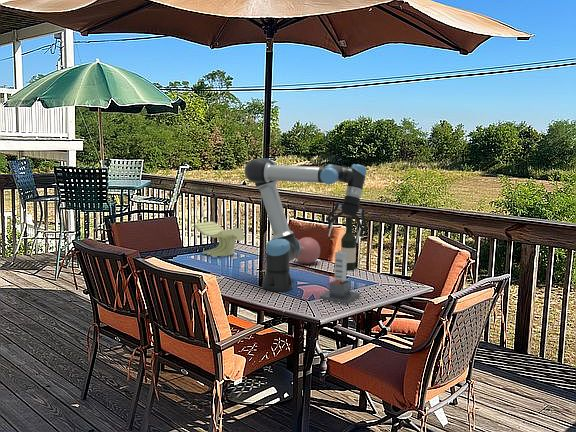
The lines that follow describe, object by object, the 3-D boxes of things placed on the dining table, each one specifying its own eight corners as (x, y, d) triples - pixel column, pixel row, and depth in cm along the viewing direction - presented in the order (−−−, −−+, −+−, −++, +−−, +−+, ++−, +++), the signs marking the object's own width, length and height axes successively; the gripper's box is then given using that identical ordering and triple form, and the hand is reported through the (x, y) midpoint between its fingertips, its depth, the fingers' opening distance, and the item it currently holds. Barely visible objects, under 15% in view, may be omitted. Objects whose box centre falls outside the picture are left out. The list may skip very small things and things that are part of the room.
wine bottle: (354, 270, 324) (356, 217, 320) (339, 269, 326) (341, 216, 321) (356, 267, 333) (357, 215, 328) (341, 266, 334) (342, 214, 329)
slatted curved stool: (243, 256, 356) (243, 227, 353) (221, 260, 346) (221, 230, 343) (216, 248, 379) (216, 221, 376) (195, 251, 369) (194, 223, 366)
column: (338, 292, 275) (339, 251, 272) (345, 294, 273) (346, 252, 270) (333, 295, 271) (334, 252, 268) (341, 296, 269) (342, 253, 266)
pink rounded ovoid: (282, 264, 338) (282, 238, 335) (307, 259, 351) (307, 233, 348) (300, 269, 326) (300, 242, 324) (325, 263, 340) (326, 237, 337)
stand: (333, 292, 282) (333, 274, 281) (359, 297, 275) (360, 278, 274) (319, 299, 270) (319, 281, 269) (347, 305, 263) (347, 285, 262)
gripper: (327, 189, 279) (317, 233, 278) (379, 201, 277) (369, 245, 276) (327, 191, 286) (317, 234, 285) (377, 203, 284) (367, 245, 283)
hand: (342, 239), depth 280 cm, fingers open, 13 cm apart
